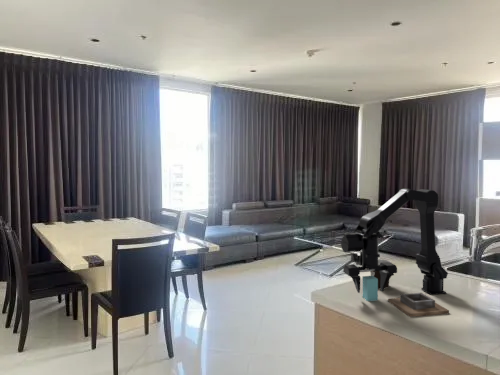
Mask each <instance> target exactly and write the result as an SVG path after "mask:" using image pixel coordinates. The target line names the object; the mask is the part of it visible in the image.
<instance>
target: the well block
mask: <svg viewBox="0 0 500 375" xmlns="http://www.w3.org/2000/svg"><path fill="white" fill-rule="evenodd" d="M399 296H400V297H394V298H387V302H388V303H389V304H391V306H394V307H395V308H397V309H398V310H399V311H401V312H402V313H404V314H405V315H406V316H408V317H410V318H411V317H413V318H414V317H421V316H422V317H424V316H434V315H435V316H436V315H445V314H447V315H449V314H450V310H449V309H447V308H445V307H444V306H443V305H441V304H439V303H437V302H436V300H435V299H433V298H432V297H430V296H428V295H426V294H424V293H423V292H413V293H412V292H411V293H400V295H399Z"/></svg>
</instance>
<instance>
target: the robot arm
mask: <svg viewBox="0 0 500 375" xmlns="http://www.w3.org/2000/svg"><path fill="white" fill-rule="evenodd" d="M439 198H440V197H439V194H438V192H436V191H435V190H433V189H424V188H423V189H422V188H421V189H417V190H415V189H410V188H401V189H399V191H397V193H396V194H395V195H394V196H392V197H391V198H390V199H388V201H386V202H385V203H384V204H383V205H381V206H380V207H379V208H377V209H376V210H374V211H370V212H368V213H366V214H364V215H363V216H362V217H360V219H359V222H358V225H357V226H356V227H355V229H354V231H353V233H352V232H351V233H349V232H345V233H343V236H342V239H341V241H340V246H341V249H342V251H343V252H344V253H351V254H350V261H351V263H355V264H345V265H344V266H343V270H342V271H343V273H344V274H345V275H347V276H349V277H350V278H351V279H352V281H353V283H354V287H355V289H356V292H357V293H358V294H360V293H361V276H360V273H365V272H366V273H367V272H370V271H380V275H381V281H380V288H379V289H380V291H381V292H384V289H386V288H385V286H386V284H387V282H388V281H389V282H390V279H391V278H392V276H395V274H398V267H397V265H396V264H395V263H392V262H391V263H390V262H382V263H380V265H378V259H379V258H380V257H381V254H380V253H379V239H384V235H383V234H381V232H380V230H381V229H382V228H383V227H384V226H385V223H386V221H387V220H388V219H389V218H390V217H392V215H393V214H395V213H396V212H397V211H398V210H399V209H401V208H402V207H403V206H405V204H407V203H408V202H409V201H414V203H415V207H416V209H417V210H418V212H419V222H420V224H419V225H420V226H419V227H420V244H421V245H420V247H421V248H420V251H419V253H415V260H416V261H415V264H416V265H417V268H418V269H419V271H420V274H422V275H423V279H422V287H421V288H420V290H422V291H424V292H426V293H428V294H429V295H441V294H442V295H443V294H447V291H446V290H444V279H447V278H448V274H449V272H448V271H447V270H446V269H445V268H444V267H443V266H442V261H441V257H440V256H439V254H438V252H437V250H436V249H437V248H436V234H435V233H436V230H435V212H436V211H437V210H436V209H437V208H438V206H439ZM354 252H355V253H354ZM356 252H360V253H359V254H360V255H358V253H356Z"/></svg>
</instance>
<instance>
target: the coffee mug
mask: <svg viewBox="0 0 500 375" xmlns="http://www.w3.org/2000/svg"><path fill="white" fill-rule="evenodd" d="M382 262H390V263H392V261H391V260H387V259H382V258H381V259H380V258H378V265H380V263H382ZM369 272H370V276H374V277H375V278H377V279H378V289H381V288H380V281H381V275H380V271H369ZM389 285H390V280H389V281H388V282H387V284H386V286H385V288H384V289H388V288H389V287H390V286H389Z"/></svg>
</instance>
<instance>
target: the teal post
mask: <svg viewBox="0 0 500 375" xmlns="http://www.w3.org/2000/svg"><path fill="white" fill-rule="evenodd" d="M378 291H379V288H378V279H377V278H375V277H374V276H371V275H365V276H364V275H363V276H362V298H363V299H364V298H365V299H366V300H365V299H364V300H365V301H366V302H373V301H374V302H375V301H378V300H379V298H378V297H379V292H378Z"/></svg>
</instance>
